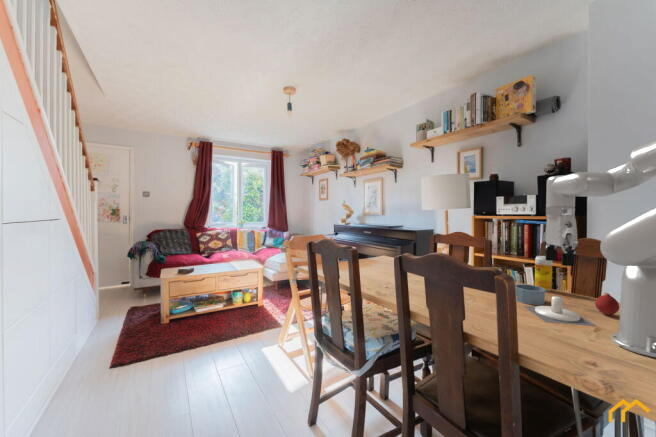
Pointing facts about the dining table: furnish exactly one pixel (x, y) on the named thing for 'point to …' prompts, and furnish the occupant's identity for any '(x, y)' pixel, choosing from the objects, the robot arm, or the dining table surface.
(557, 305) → the lid
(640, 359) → the dining table surface
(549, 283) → the yellow bottle
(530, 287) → the bowl
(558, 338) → the dining table surface
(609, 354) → the dining table surface
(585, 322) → the mat
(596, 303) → the red rounded piece
